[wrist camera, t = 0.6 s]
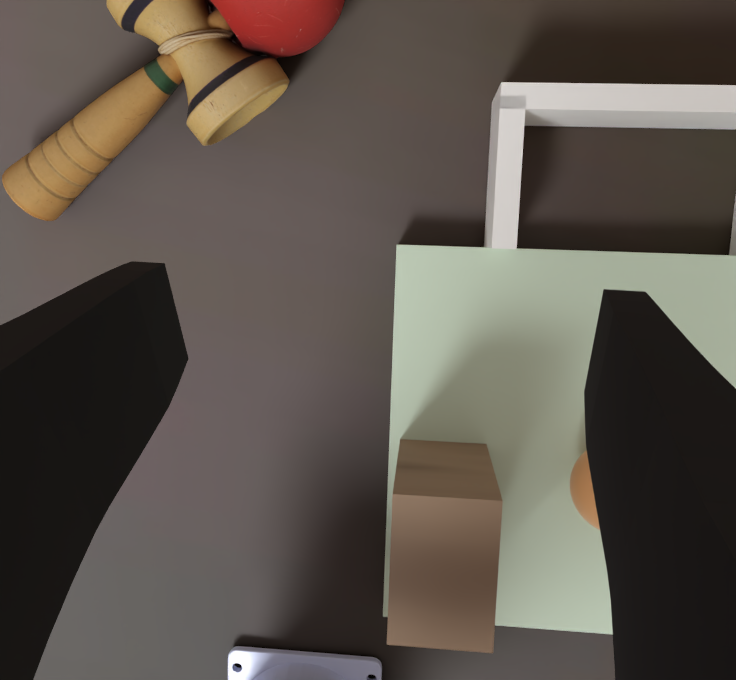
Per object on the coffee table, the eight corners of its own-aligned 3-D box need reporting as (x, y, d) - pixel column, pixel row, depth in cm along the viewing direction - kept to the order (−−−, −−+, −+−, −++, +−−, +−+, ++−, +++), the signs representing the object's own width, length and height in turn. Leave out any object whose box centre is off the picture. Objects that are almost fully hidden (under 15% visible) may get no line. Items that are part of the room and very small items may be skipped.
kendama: (121, 270, 35) (403, 32, 30) (26, 266, 29) (357, -32, 24) (48, 148, 36) (309, -103, 31) (-60, 120, 30) (241, -198, 25)
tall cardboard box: (479, 565, 33) (492, 653, 26) (395, 559, 33) (386, 644, 26) (486, 444, 32) (502, 501, 25) (400, 439, 32) (392, 494, 25)
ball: (646, 515, 32) (678, 555, 28) (558, 510, 32) (576, 548, 28) (654, 431, 31) (688, 460, 27) (564, 427, 31) (584, 454, 27)
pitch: (730, 626, 34) (771, 678, 30) (384, 600, 35) (379, 646, 31) (792, 106, 30) (848, 86, 26) (403, 100, 31) (400, 80, 27)
